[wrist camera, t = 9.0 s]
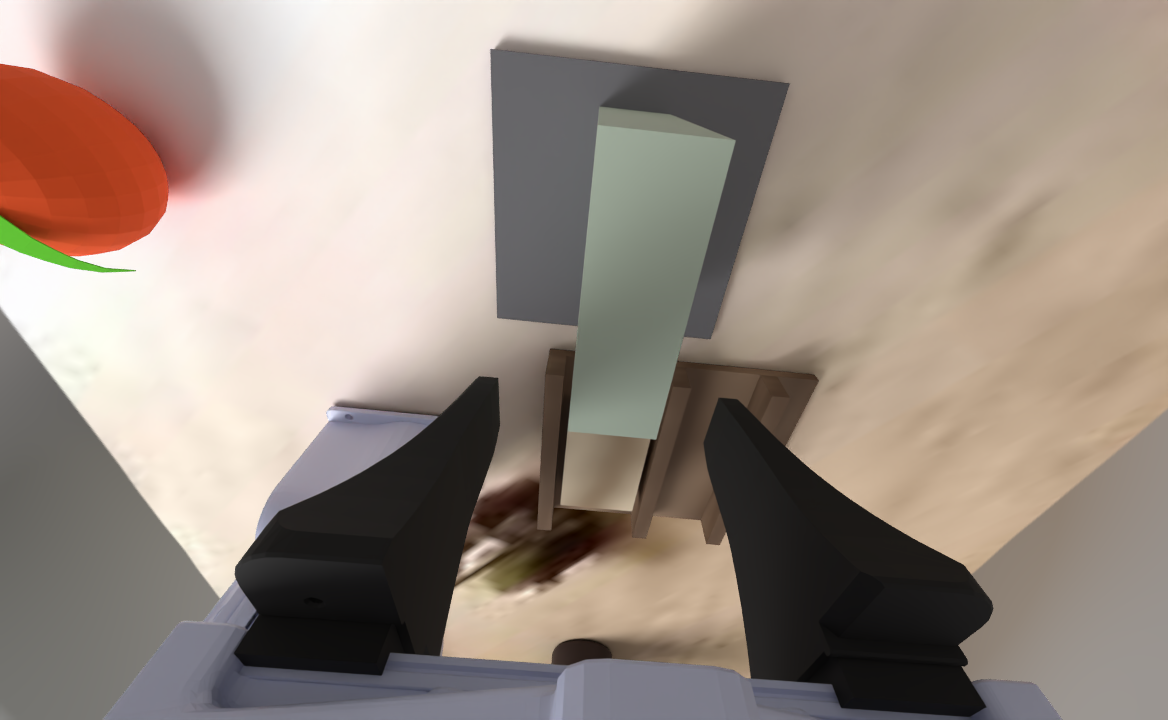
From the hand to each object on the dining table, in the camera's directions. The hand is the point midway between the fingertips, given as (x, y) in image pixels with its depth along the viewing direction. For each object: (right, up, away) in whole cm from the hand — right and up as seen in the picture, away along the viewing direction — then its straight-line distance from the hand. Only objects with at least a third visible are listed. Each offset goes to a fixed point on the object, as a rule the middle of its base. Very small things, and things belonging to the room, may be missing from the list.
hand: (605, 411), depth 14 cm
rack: (+5, -4, +15) cm, 16 cm away
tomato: (-22, +11, +6) cm, 25 cm away
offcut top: (+1, -5, +14) cm, 14 cm away
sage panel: (+1, +8, +6) cm, 10 cm away
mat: (+1, +9, +7) cm, 11 cm away
